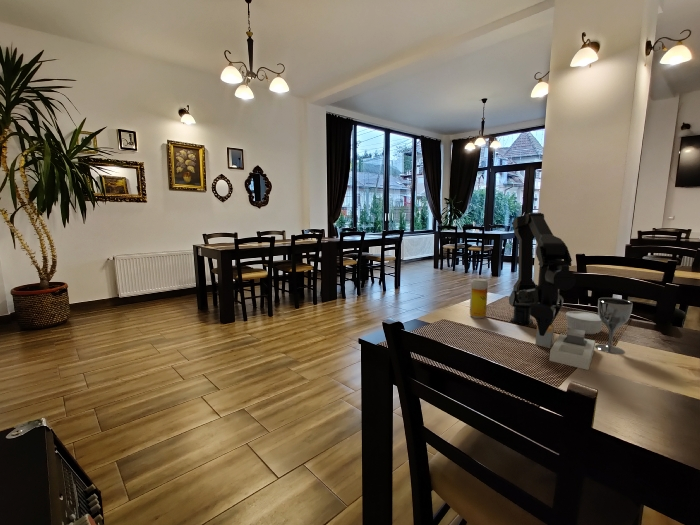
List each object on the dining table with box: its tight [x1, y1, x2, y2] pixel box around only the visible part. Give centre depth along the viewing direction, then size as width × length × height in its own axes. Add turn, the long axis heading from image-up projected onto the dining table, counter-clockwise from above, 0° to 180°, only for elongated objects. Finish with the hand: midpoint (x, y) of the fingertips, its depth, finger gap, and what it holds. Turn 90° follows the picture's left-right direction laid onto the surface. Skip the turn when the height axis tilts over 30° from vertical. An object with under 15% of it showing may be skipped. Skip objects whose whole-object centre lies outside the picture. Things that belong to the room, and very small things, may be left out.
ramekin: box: [565, 310, 604, 335], centre depth 117 cm, size 11×11×5 cm
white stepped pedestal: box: [549, 328, 596, 371], centre depth 96 cm, size 16×9×6 cm, turn 140°
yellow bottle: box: [469, 277, 489, 319], centre depth 132 cm, size 6×6×15 cm
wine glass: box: [594, 297, 634, 355], centre depth 100 cm, size 8×8×15 cm
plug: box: [535, 325, 555, 349], centre depth 105 cm, size 4×4×6 cm
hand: (544, 331), depth 104 cm, fingers open, 9 cm apart
